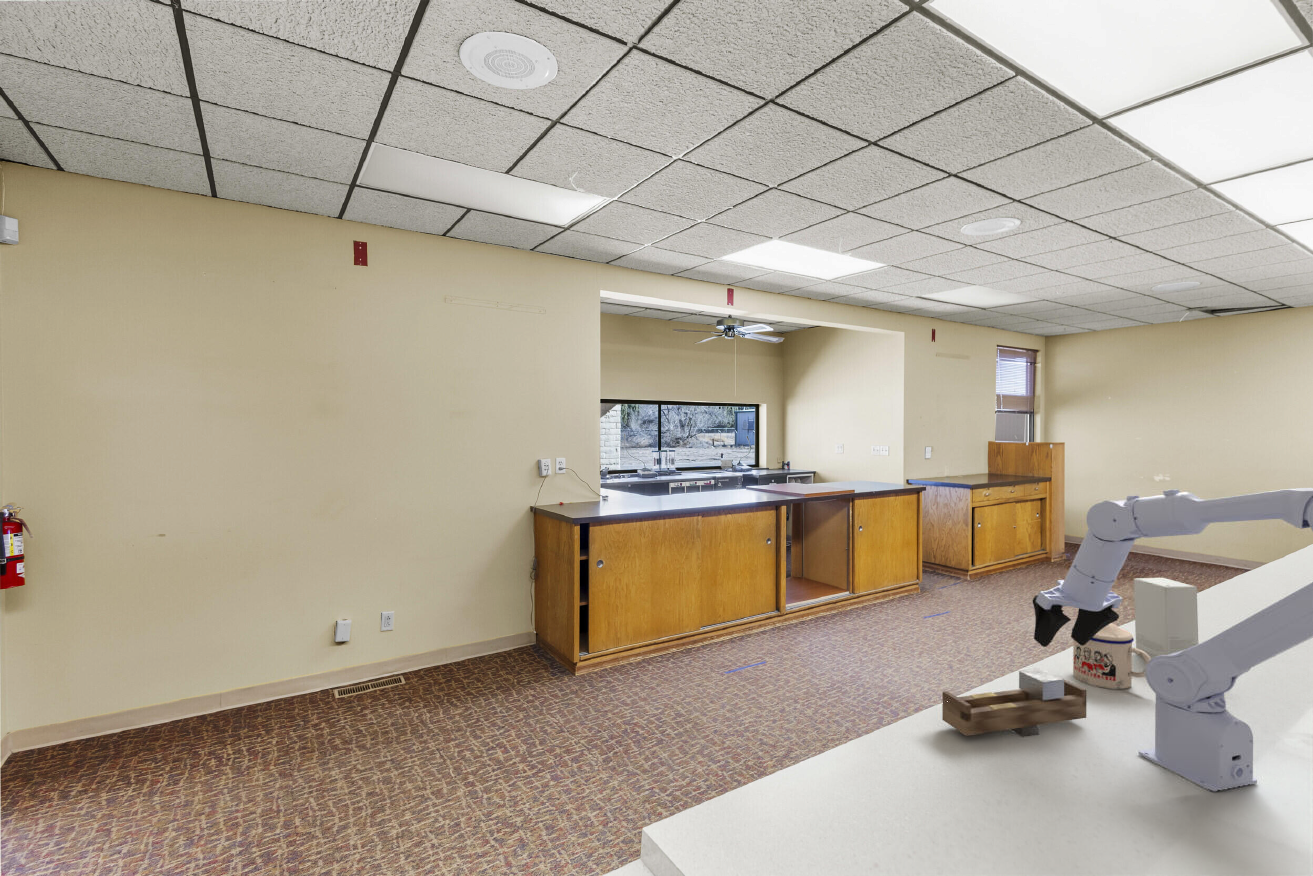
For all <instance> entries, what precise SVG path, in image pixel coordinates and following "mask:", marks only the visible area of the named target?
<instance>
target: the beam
mask: <svg viewBox="0 0 1313 876" xmlns="http://www.w3.org/2000/svg"><path fill="white" fill-rule="evenodd" d="M1087 694H1088V693H1087V689H1086V688H1084V687H1082V686H1079V685H1077V684H1075V683H1073V682H1070V681H1068V680H1066V679H1064V697H1063V698H1056V699H1048V700H1041V699H1039V700H1032V701H1029V700H1028V693H1027V692H1025V691H1023V690H1021V689H1019V688H1018V689H1011V690H1003V691H997V692H992V691H991V692H983V693H982V692H981V693H973V694H969V695H965V696H956V695H955V694H954V693H951V692H950V691H948V690H944V691H942V703H943V704H942V703H941V704H942V711H941V712H942V718H941V719H942V721H944V722H945V723H947V724H948V725H949V726H951V727H952V728H954V729H955V730H957V731H959V732H960V733H962V734H963V735H965V736H972V735H981V734H987V733H992V732H993V733H995V732H1000V731H1007V730H1010V731H1012V732H1013V733H1015V734H1016V735H1018V736H1019V737H1021V738H1026V737H1033V736H1039V735H1040V726H1041V725H1046V724H1047V725H1048V724H1053V723H1061V722H1067V721H1074V720H1075V721H1076V720H1080V719H1081V720H1082V719H1087V700H1088V699H1087ZM947 701H948V702H947ZM1039 725H1040V726H1039Z"/></svg>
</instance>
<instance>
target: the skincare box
mask: <svg viewBox="0 0 1313 876" xmlns="http://www.w3.org/2000/svg"><path fill="white" fill-rule="evenodd" d="M1133 590H1134V591H1133V593H1134V595H1133V597H1134V598H1133V599H1134V623H1135V624H1134V625H1135V627H1134V628H1135V648H1136V649H1140V650H1142V651H1144V652H1145V653H1147V654H1148V655H1149V656H1150V658H1151V659H1152V658H1154V657H1156V656H1159V655H1168V654H1172V653H1176V652H1179V651H1183V650H1185V649H1187V648H1189V647H1193V646H1195V645H1198V644H1199V621H1198V620H1199V619H1198V586H1197V585H1196V586H1195V585H1192V584H1187V583H1183V582H1180V581H1177V580H1173V579H1169V578H1165V577H1146V578H1144V577H1142V578H1140V577H1139V578H1138V577H1135V578H1133Z"/></svg>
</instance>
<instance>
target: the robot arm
mask: <svg viewBox="0 0 1313 876" xmlns="http://www.w3.org/2000/svg"><path fill="white" fill-rule="evenodd" d="M1162 493H1163V494H1161V495H1159V494H1158V495H1151V496H1143V497H1139V495H1138V494H1136V495H1135V494H1134V495H1127V496H1126V499H1123V500H1122V499H1121V500H1103V501H1101V502H1098V503H1095V504H1094V505H1092V506H1091V507H1090V508H1089V510H1088V511H1087V513H1086V520H1085V521H1086V525H1087V527H1088V529H1087V531H1086V533H1085V536H1084V537H1083V540H1082V542H1081V544H1080V546H1079V549H1078V550H1077V552H1076V553H1075V557H1074V559H1073V561H1072V564H1071V565H1070V568H1069V570H1068V572H1067V573H1066V576H1065V578H1064V579H1058V580H1056V585H1057V586H1055V587H1052V588H1050V589H1048V590H1046V591H1045V590H1043V591H1039V593H1038V595H1034V597H1033V599H1032V605H1033V608H1034V615H1035V616H1034V617H1035V624H1034V625H1035V627H1034V633H1033V634H1034V635H1033V639H1034V640H1035V641H1036V643H1037V644H1039V645H1040V646H1042V647H1043V648H1045V647H1046V648H1047V647H1048V646H1050V644H1051V643H1052V642H1053V639H1054V638H1055V636H1056V634H1057V633H1058V632H1059V631H1060V629H1061V628H1062V627H1064V625H1066V624H1068V623H1069V622H1071V621H1072V619H1071V618H1070V617H1069V616H1068V615H1066V614H1065V613H1063V612H1064V610H1063V607H1070V608H1076V609H1078V611H1077V617H1076V620H1075V622H1074V625H1073V626H1074V627H1073V626H1072V628H1073V630H1072V629H1071V633H1070V634H1071V635H1070V638H1071V639H1072V640H1073V639H1074V640H1075V641H1076V642H1077V643H1079V644H1080V645H1081V646H1083V645H1085V644H1086V643H1087V642H1088V641H1089V640H1090V639H1091V638H1092V637H1093V636H1094V635H1096V634H1097V633H1098V632H1099V631H1100V630H1101V629H1102V628H1104V627H1105V626H1107V625H1109V624H1110V623H1114V622H1117V621H1118V619H1119V618H1120V614H1119V613H1117V612H1116V611H1115V610H1113V609H1119V607H1120V605H1121V604H1122V601H1123V597H1121V596H1120V595H1118V594H1117V593H1115V592H1114V591H1112V590H1111V589H1112V587H1113V586H1114V583H1115V582H1116V580H1117V578H1118V576H1119V573H1120V572H1121V569H1122V568H1123V566H1124V564H1125V562H1126V560H1127V558H1128V556H1129V553H1130V552H1131V549H1132V547H1133V545H1134V543H1135V541H1136V540H1138V539H1141V538H1162V537H1175V536H1176V537H1177V536H1189V535H1190V536H1191V535H1192V536H1193V535H1199V534H1201V533H1202V532H1203V531H1204V530H1205V529H1206V528H1207V527H1208V526H1209V525H1210V524H1214V523H1217V524H1218V523H1228V522H1229V523H1230V522H1232V523H1233V522H1234V523H1235V522H1246V521H1247V522H1248V521H1264V520H1282V521H1283V522H1286V523H1288V524H1289V525H1291V526H1293V527H1295V528H1298V529H1302V530H1303V529H1308V528H1310V529H1311V531H1312V532H1313V487H1297V488H1285V489H1279V490H1278V489H1277V490H1271V491H1263V492H1256V493H1248V494H1247V493H1246V494H1240V495H1233V496H1225V497H1218V498H1212V499H1204V498H1201V497H1199V496H1197V495H1195V494H1194V493H1192V492H1189V491H1188V492H1187V491H1184V492H1180V490H1179V489H1178V488H1176V489H1175V488H1174V489H1167V490H1164V489H1163V491H1162ZM1312 638H1313V581H1312V582H1310V583H1309V584H1306V585H1304V586H1302V588H1300V589H1297V590H1296V591H1294V592H1292V593H1290V594H1289V595H1287V596H1285V597H1283V598H1281V599H1279V600H1278V601H1275V602H1274V603H1273V604H1271V605H1269V606H1267V607H1265V608H1263V609H1262V610H1260V611H1258V612H1256V613H1254V614H1253V615H1251V616H1248V617H1247V618H1245V619H1243V620H1242V621H1240V622H1238V623H1236V624H1234V625H1233V626H1231V627H1229V628H1227V629H1225V630H1223V631H1222V632H1220V633H1217V634H1216V635H1214V636H1212V637H1210V638H1209V639H1207V640H1205V641H1203V642H1200V643H1198V645H1195V646H1193V647H1189V648H1187V649H1185V650H1183V651H1179V652H1176V653H1172V654H1168V655H1159V656H1156V657H1154V658H1152V659H1151V660H1150V661H1149V662H1148V663H1147V665H1146V664H1145V667H1146V668H1144V670H1145V676H1144V677H1145V679H1146V683H1147V684H1148V686H1149V687H1150V689H1151V690H1152V691H1153V692H1154V693H1155V705H1154V706H1155V709H1154V710H1155V712H1154V713H1155V715H1154V717H1155V718H1154V719H1155V722H1154V725H1155V726H1154V731H1155V732H1154V747H1152V748H1145V749H1144V748H1143V749H1139V750H1138V755H1139V756H1142V757H1144V758H1145V759H1147V760H1149V761H1151V762H1153V763H1156V764H1157V765H1159V766H1161V767H1164V769H1167V770H1169V771H1171V772H1173V773H1174V774H1177V775H1179V776H1181V777H1183V778H1185V779H1187V780H1188V781H1191V782H1192V783H1194V784H1197V785H1198V786H1200V787H1202V788H1204V787H1205V788H1204V789H1205V790H1208V789H1210V790H1213V791H1212V792H1218V791H1217V790H1220V791H1223V790H1222V789H1225V790H1227V789H1226V788H1230V789H1233V788H1232V787H1235V788H1239V787H1238V786H1240V787H1244V786H1243V785H1245V786H1249V785H1248V784H1250V785H1254V784H1253V783H1255V784H1257V783H1258V780H1257V779H1256V778H1255V777H1254V774H1253V773H1254V771H1253V770H1254V737H1253V731H1252V729H1251V727H1250V725H1248V724H1247V723H1246V722H1245V721H1244V720H1241V719H1239V718H1237V717H1235V716H1234V715H1233V714H1232V713H1231V712H1229V710H1228V709H1227V703H1226V700H1225V699H1226V698H1225V693H1227V692H1229V691H1230V690H1232V689H1233V687H1234V686H1235V685H1236V684H1235V683H1236V682H1237V680H1238V679H1239V677H1241V676H1242V675H1244V674H1245V673H1248V672H1249V671H1250V670H1251V669H1252V668H1254V667H1256V666H1258V665H1260V664H1262V663H1264V662H1267V661H1268V660H1271V659H1272V658H1275V657H1276V656H1278V655H1280V654H1282V653H1284V652H1286V651H1288V650H1290V649H1292V648H1295V647H1297V646H1299V645H1300V644H1303V643H1304V642H1307V641H1308V640H1310V639H1312ZM1210 790H1209V791H1210Z"/></svg>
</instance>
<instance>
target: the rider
mask: <svg viewBox="0 0 1313 876" xmlns="http://www.w3.org/2000/svg"><path fill="white" fill-rule="evenodd" d="M1064 680H1065V678H1062V677H1060V676H1058V675H1056V674H1054V673H1051V672H1049V671H1047V670H1045V669H1042V668H1032V669H1024V670H1018V689H1021V690H1023V691H1025V692H1027V693H1028V700H1029V701H1032V700H1039V699H1041V700H1048V699H1056V698H1063V697H1064Z"/></svg>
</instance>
